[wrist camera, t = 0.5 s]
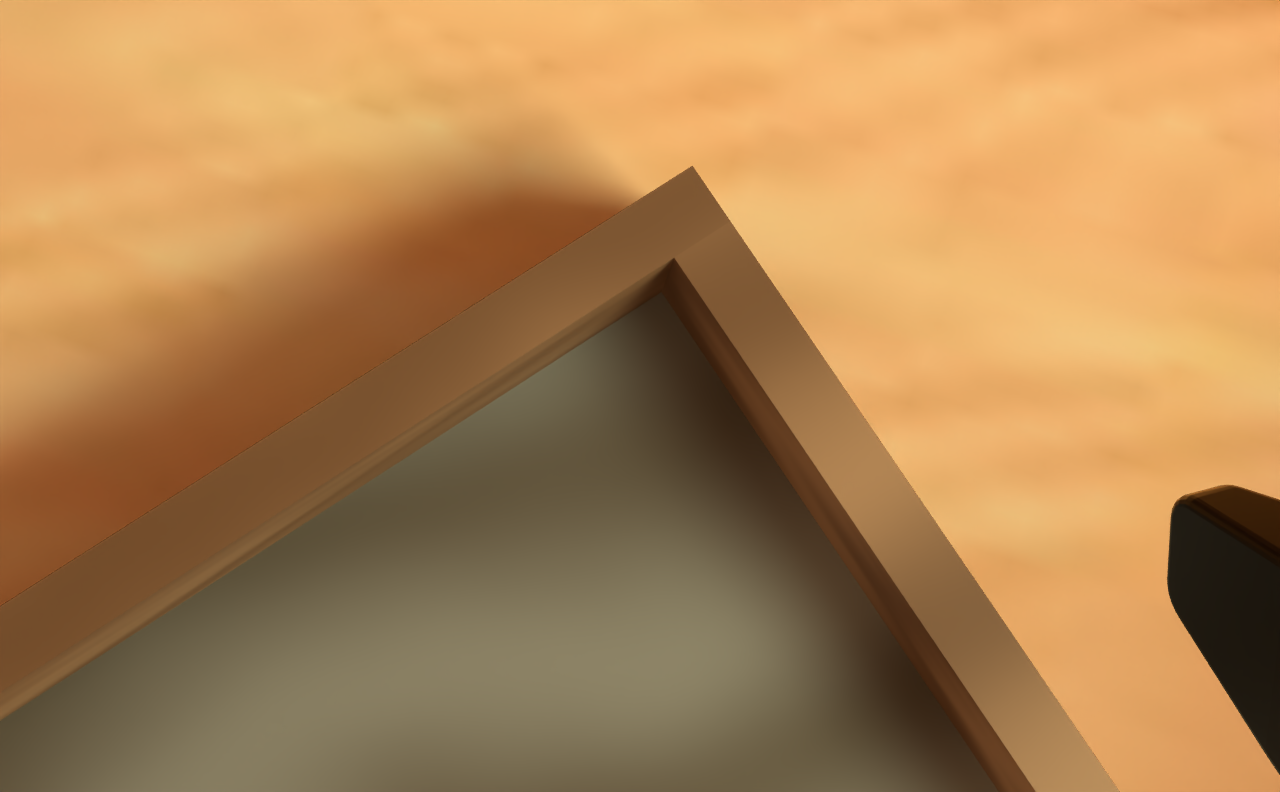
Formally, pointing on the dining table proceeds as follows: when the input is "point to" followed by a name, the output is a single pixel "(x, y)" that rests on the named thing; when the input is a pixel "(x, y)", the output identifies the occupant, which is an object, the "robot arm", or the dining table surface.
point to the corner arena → (546, 573)
